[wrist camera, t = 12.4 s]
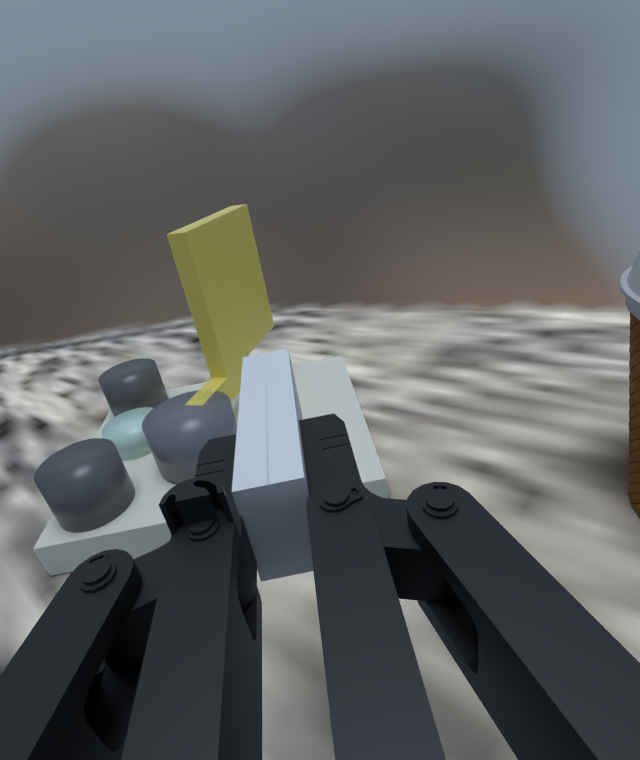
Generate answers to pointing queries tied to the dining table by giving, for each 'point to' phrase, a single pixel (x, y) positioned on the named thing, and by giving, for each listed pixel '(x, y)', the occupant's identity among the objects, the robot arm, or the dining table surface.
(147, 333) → the dining table surface
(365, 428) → the base
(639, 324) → the disposable coffee cup
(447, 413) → the dining table surface
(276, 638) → the dining table surface
